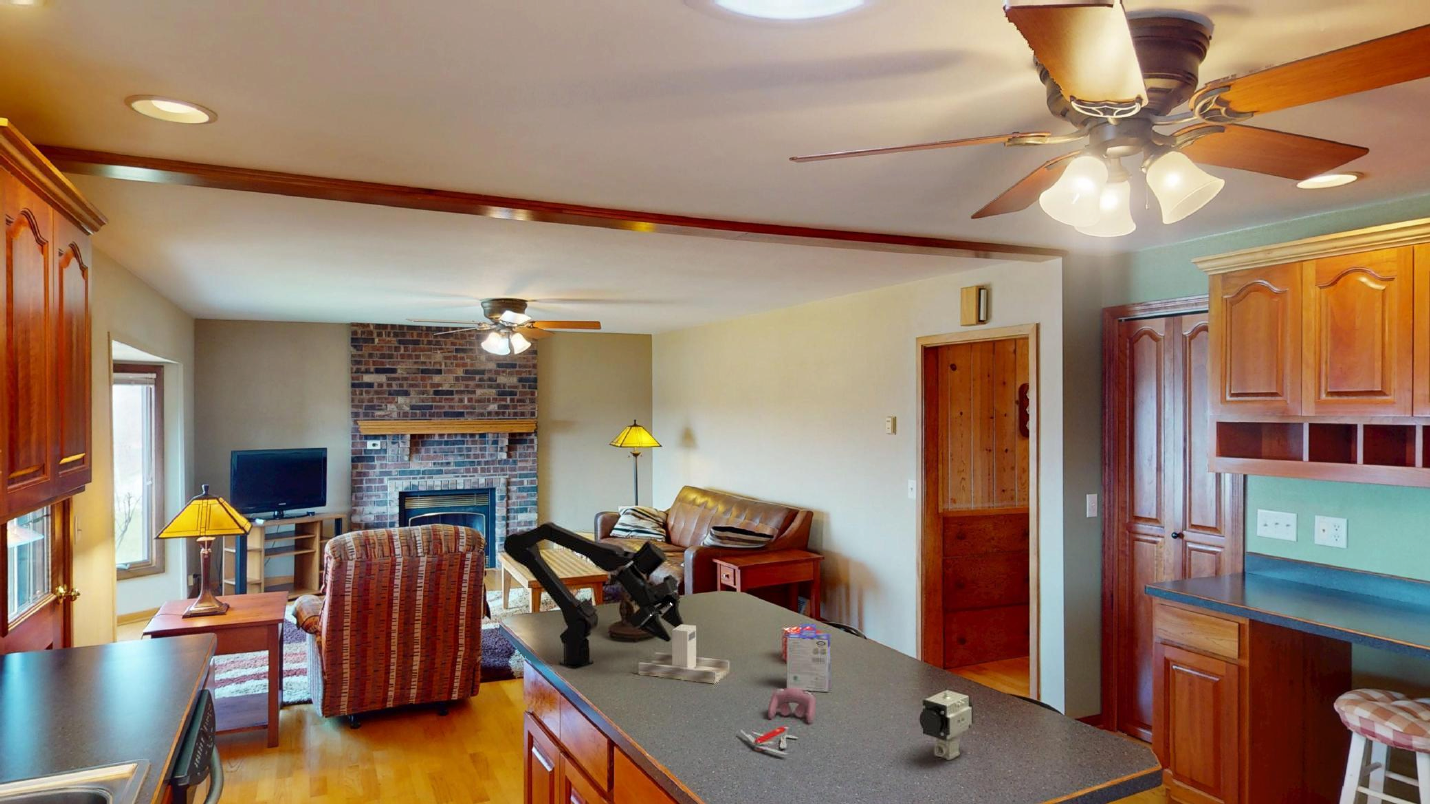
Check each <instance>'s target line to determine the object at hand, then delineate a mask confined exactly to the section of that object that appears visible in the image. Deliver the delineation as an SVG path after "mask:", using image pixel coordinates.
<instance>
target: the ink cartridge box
mask: <svg viewBox="0 0 1430 804" xmlns="http://www.w3.org/2000/svg"><path fill="white" fill-rule="evenodd" d="M800 627H801V632H800V633H789V635H788V637H787V661H786V688H797V689H802V690H805V691H807V692H809V691H811V692H812V691H813V692H825V693H828V692H829V690H830V687H831V635H830V633H823V634H817V630H818V628H817V624H816V623H803V622H801V626H800ZM804 627H812V628H814V630H804V629H803V628H804Z"/></svg>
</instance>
